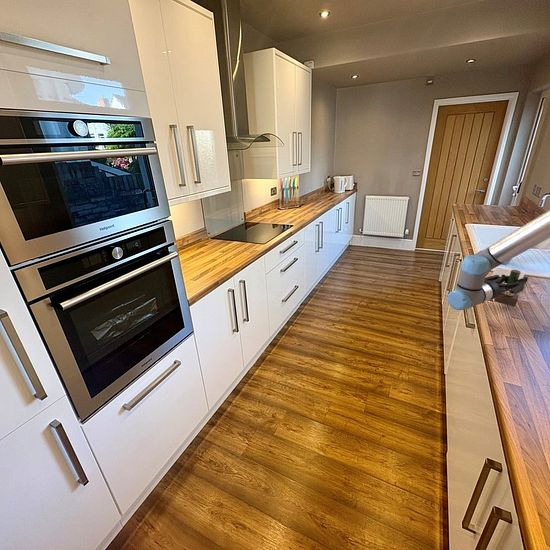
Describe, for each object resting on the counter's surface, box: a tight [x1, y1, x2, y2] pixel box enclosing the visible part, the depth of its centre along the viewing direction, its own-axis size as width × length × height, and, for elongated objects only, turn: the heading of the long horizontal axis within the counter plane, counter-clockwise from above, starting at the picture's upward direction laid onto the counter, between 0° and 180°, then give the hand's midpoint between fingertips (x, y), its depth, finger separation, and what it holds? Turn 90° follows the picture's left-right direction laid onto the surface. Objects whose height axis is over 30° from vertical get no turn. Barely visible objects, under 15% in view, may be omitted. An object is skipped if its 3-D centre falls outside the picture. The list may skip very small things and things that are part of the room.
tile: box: [490, 266, 526, 284], centre depth 141 cm, size 12×22×2 cm, turn 137°
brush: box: [493, 269, 522, 308], centre depth 117 cm, size 7×5×14 cm
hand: (520, 278), depth 118 cm, fingers closed on brush, 3 cm apart
